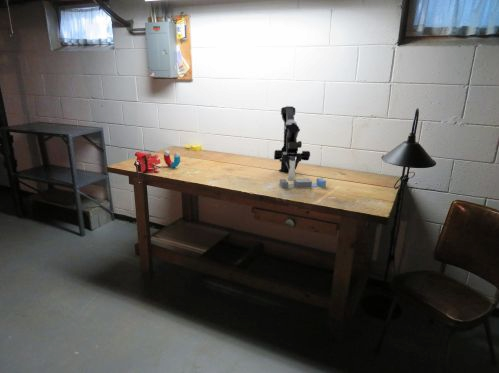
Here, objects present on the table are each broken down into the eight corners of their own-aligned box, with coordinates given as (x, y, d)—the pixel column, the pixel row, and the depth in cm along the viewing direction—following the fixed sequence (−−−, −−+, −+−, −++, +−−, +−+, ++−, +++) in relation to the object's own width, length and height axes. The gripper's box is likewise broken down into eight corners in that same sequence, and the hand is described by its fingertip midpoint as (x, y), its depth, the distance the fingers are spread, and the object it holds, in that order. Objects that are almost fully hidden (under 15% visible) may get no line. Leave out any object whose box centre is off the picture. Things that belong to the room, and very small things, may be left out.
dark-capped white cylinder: (289, 179, 192) (291, 155, 187) (295, 180, 190) (296, 156, 186) (287, 180, 189) (288, 156, 185) (292, 181, 187) (294, 157, 183)
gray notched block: (279, 186, 193) (279, 179, 191) (321, 184, 197) (322, 178, 196) (282, 189, 187) (282, 182, 186) (325, 188, 191) (326, 181, 190)
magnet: (180, 168, 222) (180, 152, 218) (177, 169, 219) (176, 153, 216) (167, 165, 228) (166, 149, 225) (164, 166, 225) (163, 150, 222)
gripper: (275, 134, 186) (275, 160, 179) (311, 135, 186) (312, 161, 179) (273, 146, 196) (274, 171, 189) (307, 147, 196) (309, 172, 189)
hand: (292, 169), depth 186 cm, fingers closed on dark-capped white cylinder, 3 cm apart
